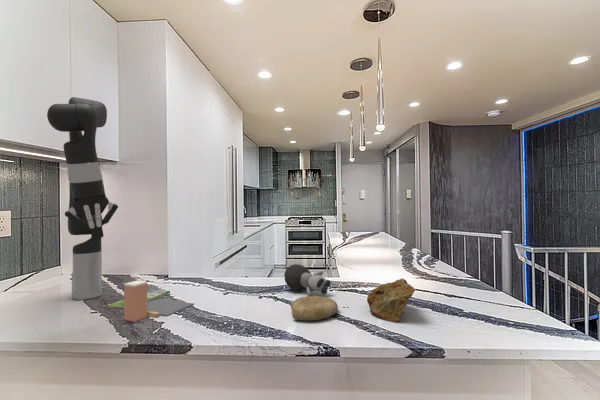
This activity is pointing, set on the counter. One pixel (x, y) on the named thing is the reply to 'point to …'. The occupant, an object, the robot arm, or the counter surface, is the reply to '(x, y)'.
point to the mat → (167, 306)
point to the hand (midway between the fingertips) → (98, 239)
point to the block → (135, 300)
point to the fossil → (313, 308)
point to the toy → (305, 280)
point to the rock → (390, 299)
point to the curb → (153, 314)
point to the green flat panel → (150, 296)
